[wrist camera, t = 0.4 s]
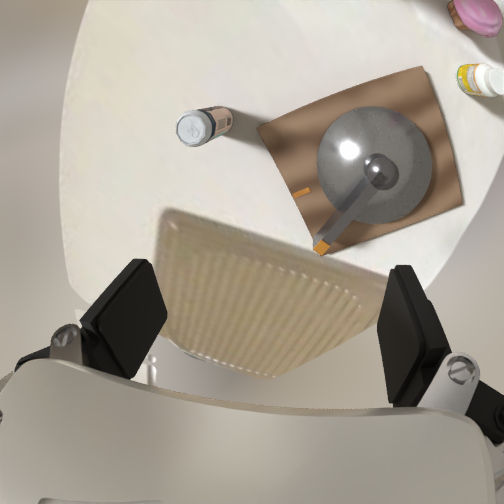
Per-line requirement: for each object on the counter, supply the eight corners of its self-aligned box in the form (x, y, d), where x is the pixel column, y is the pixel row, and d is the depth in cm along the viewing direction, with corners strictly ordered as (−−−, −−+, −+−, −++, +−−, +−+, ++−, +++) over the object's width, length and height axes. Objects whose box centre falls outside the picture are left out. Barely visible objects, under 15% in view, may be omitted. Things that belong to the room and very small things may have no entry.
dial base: (258, 126, 40) (256, 128, 38) (417, 66, 29) (422, 65, 27) (320, 250, 49) (320, 256, 48) (457, 199, 38) (462, 204, 37)
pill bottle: (218, 99, 38) (189, 102, 28) (240, 119, 40) (217, 128, 30) (199, 120, 41) (165, 131, 31) (219, 140, 42) (191, 156, 32)
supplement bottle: (451, 84, 29) (482, 86, 21) (457, 58, 26) (488, 55, 18) (474, 100, 29) (507, 106, 21) (481, 75, 26) (513, 77, 18)
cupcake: (430, -5, 20) (456, -22, 12) (467, -3, 17) (495, -14, 9) (451, 40, 24) (482, 33, 16) (486, 41, 21) (518, 37, 13)
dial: (362, 81, 31) (371, 79, 26) (446, 160, 34) (463, 170, 29) (271, 203, 44) (266, 218, 39) (355, 262, 47) (360, 282, 42)
